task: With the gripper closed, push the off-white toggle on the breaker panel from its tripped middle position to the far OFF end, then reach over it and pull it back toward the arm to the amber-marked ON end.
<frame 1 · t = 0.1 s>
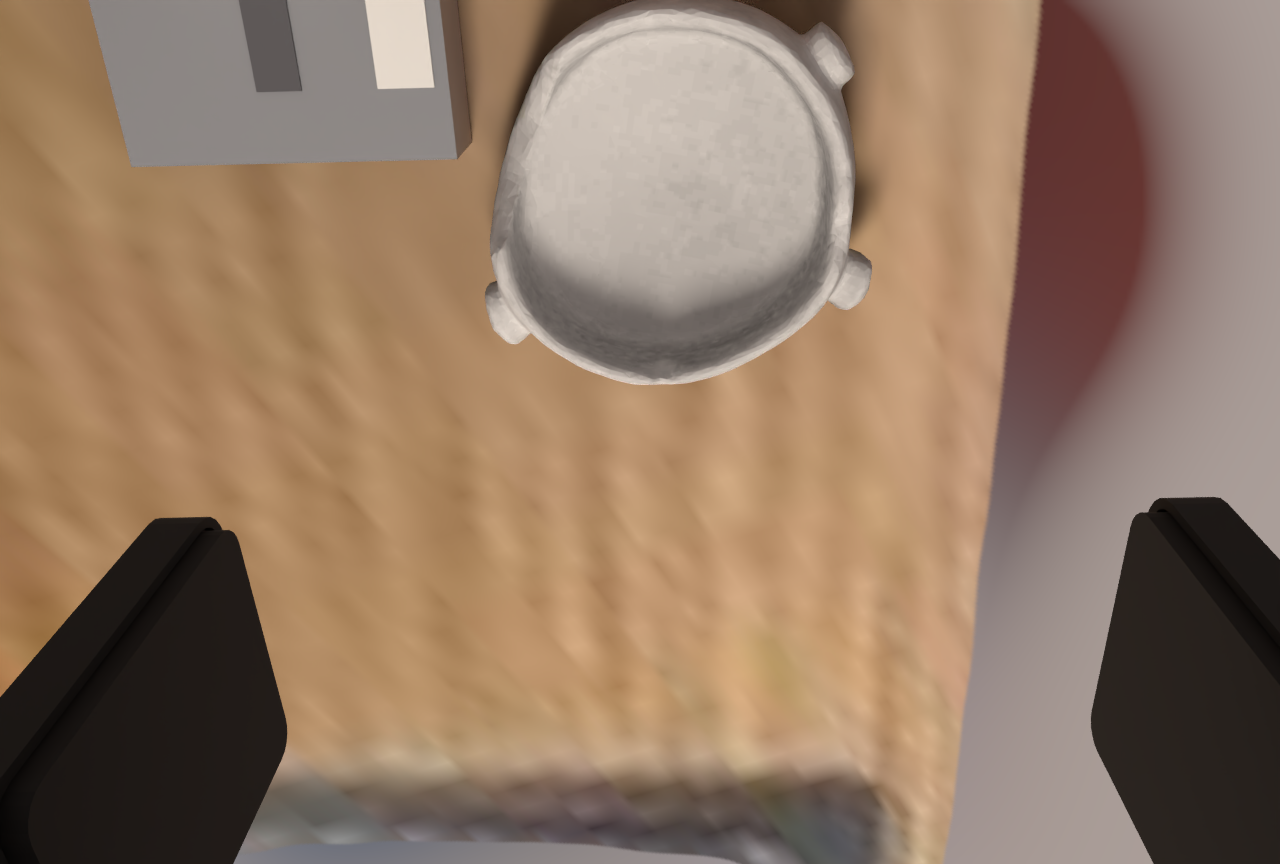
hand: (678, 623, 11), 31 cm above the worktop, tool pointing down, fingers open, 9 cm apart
dish: (680, 179, 40), on the worktop
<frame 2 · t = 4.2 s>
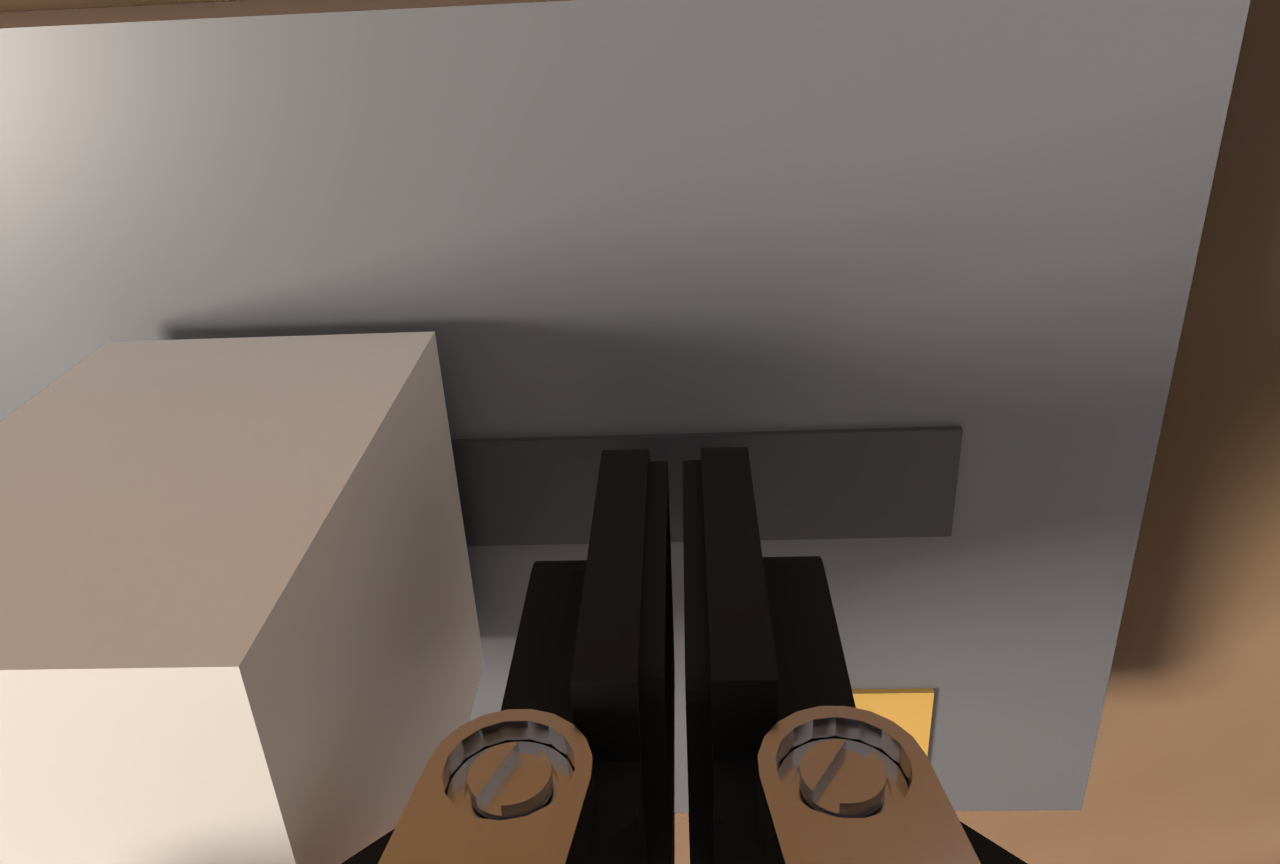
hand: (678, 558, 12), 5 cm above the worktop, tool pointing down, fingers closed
breaker panel: (437, 398, 16), on the worktop
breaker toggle: (217, 666, 11), point 7 cm above the worktop, slide at 6.9 cm, touching gripper
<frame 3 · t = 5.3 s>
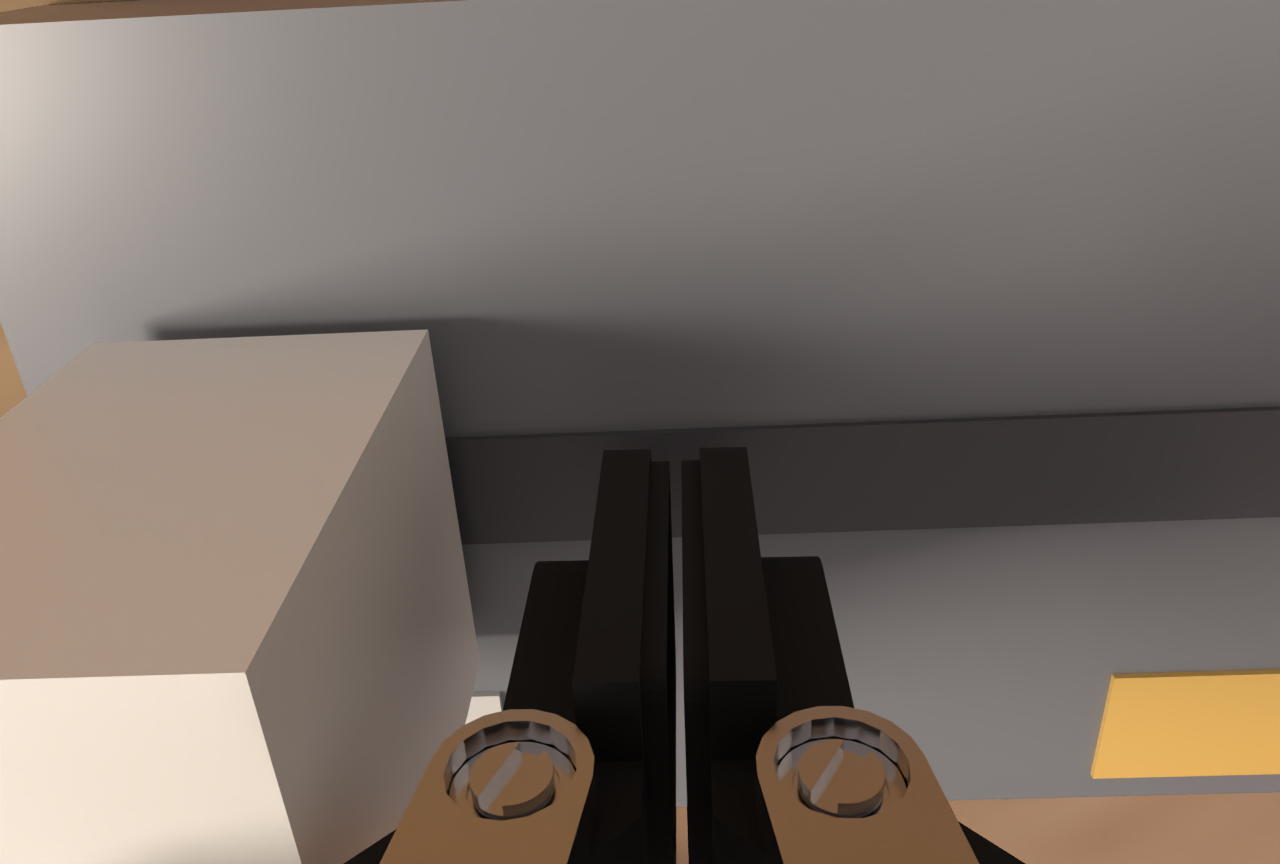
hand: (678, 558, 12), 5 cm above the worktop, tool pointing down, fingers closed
breaker panel: (783, 382, 16), on the worktop
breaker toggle: (214, 670, 11), point 7 cm above the worktop, slide at 12.6 cm, touching gripper
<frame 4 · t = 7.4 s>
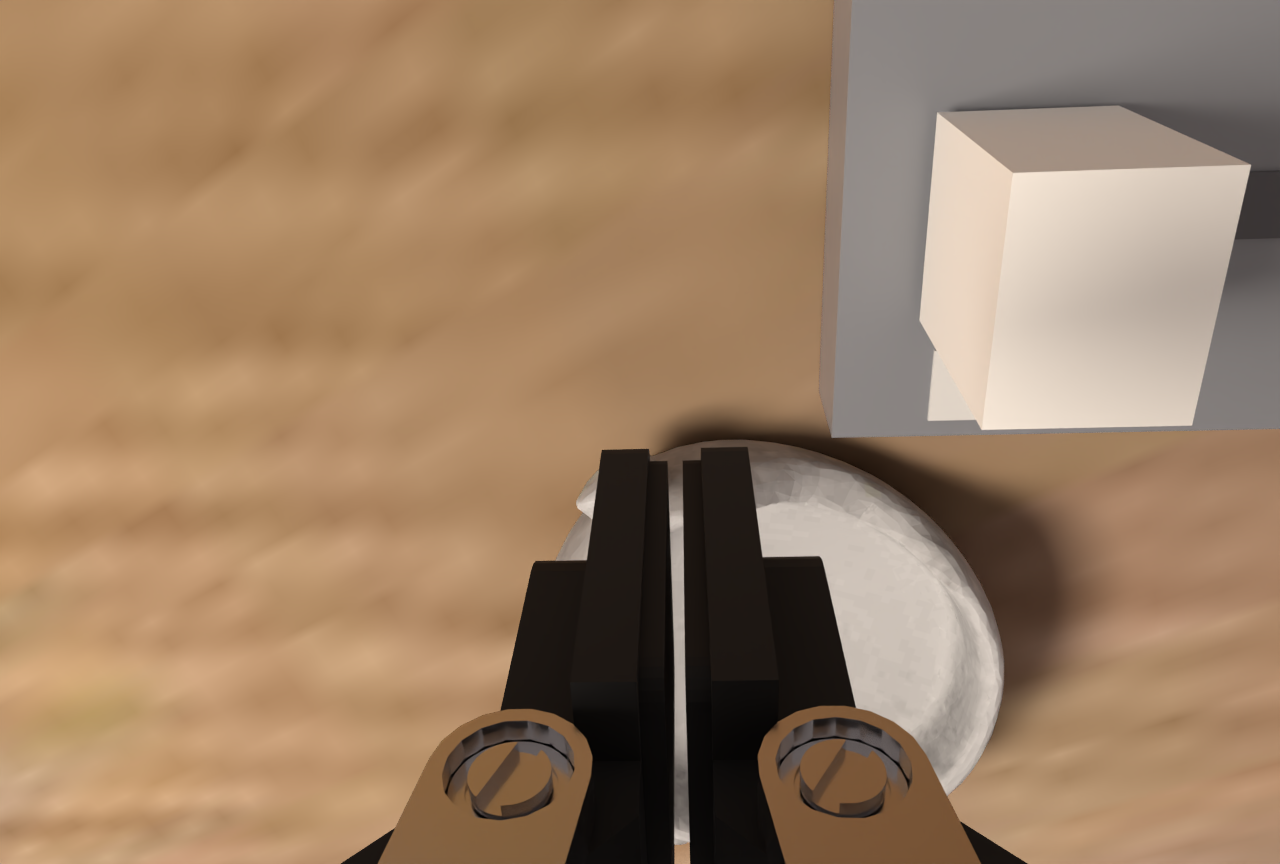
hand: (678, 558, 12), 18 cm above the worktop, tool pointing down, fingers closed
breaker panel: (1209, 175, 27), on the worktop
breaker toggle: (1054, 256, 21), point 6 cm above the worktop, slide at 12.0 cm
dish: (756, 603, 34), on the worktop
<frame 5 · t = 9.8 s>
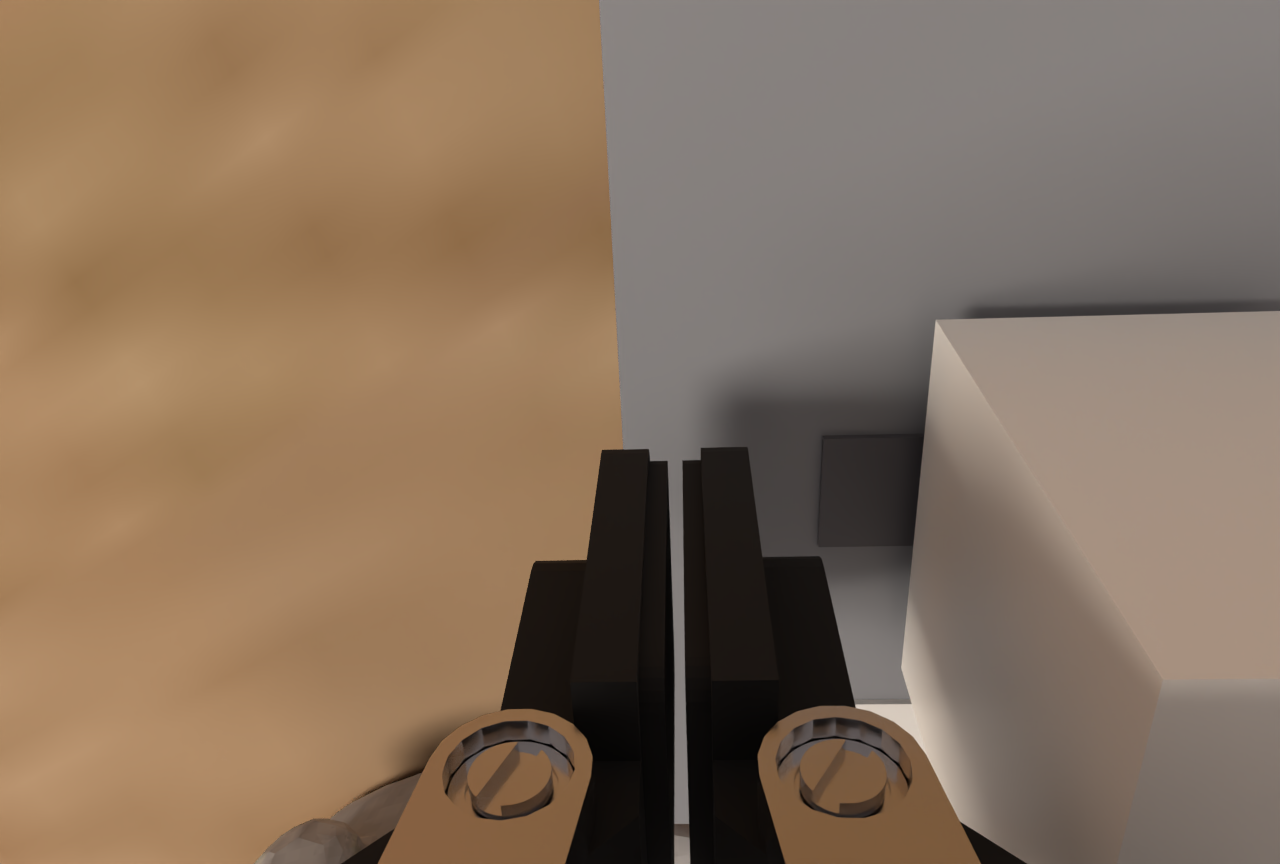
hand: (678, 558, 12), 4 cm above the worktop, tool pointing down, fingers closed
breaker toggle: (1192, 669, 10), point 7 cm above the worktop, slide at 10.4 cm, touching gripper
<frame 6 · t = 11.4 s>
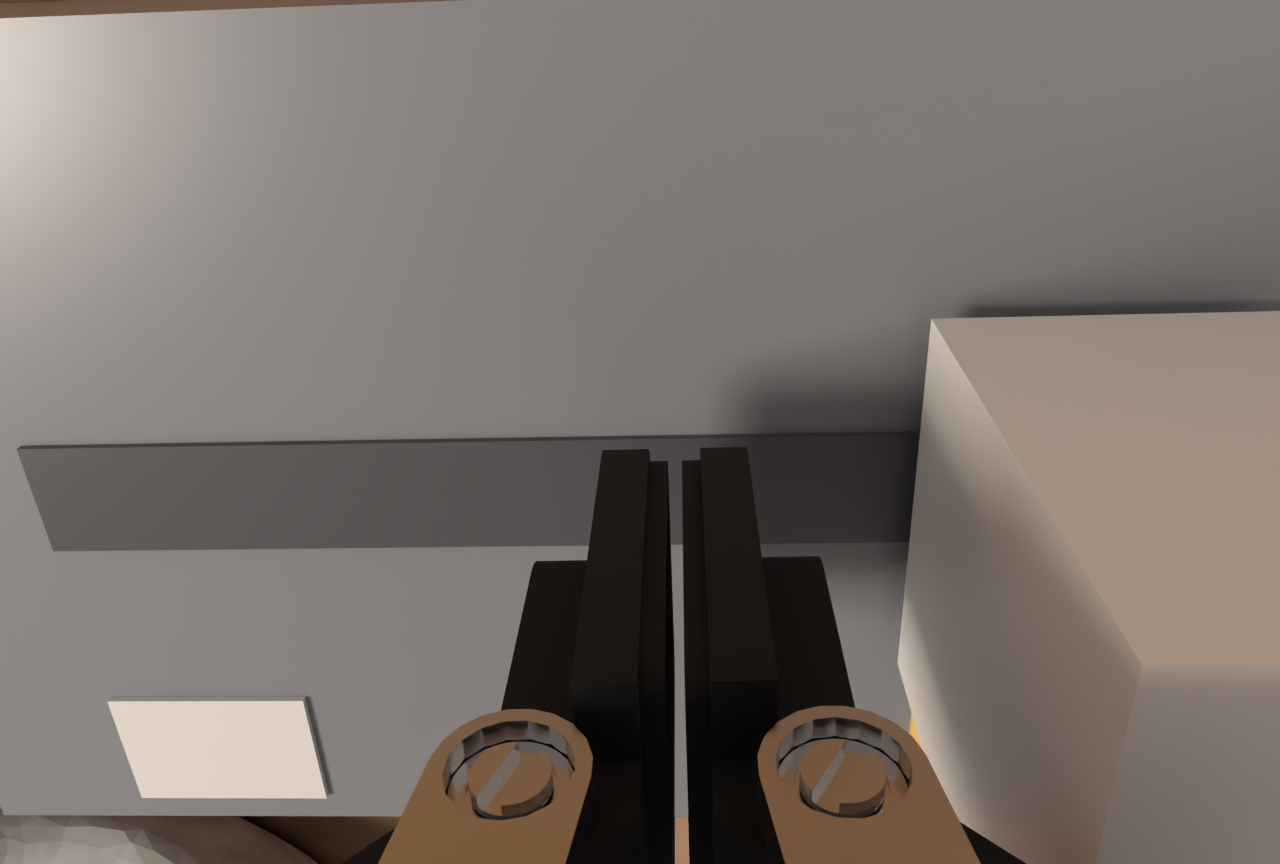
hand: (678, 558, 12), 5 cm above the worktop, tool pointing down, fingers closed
breaker panel: (605, 394, 16), on the worktop
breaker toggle: (1180, 662, 10), point 6 cm above the worktop, slide at -0.1 cm, touching gripper
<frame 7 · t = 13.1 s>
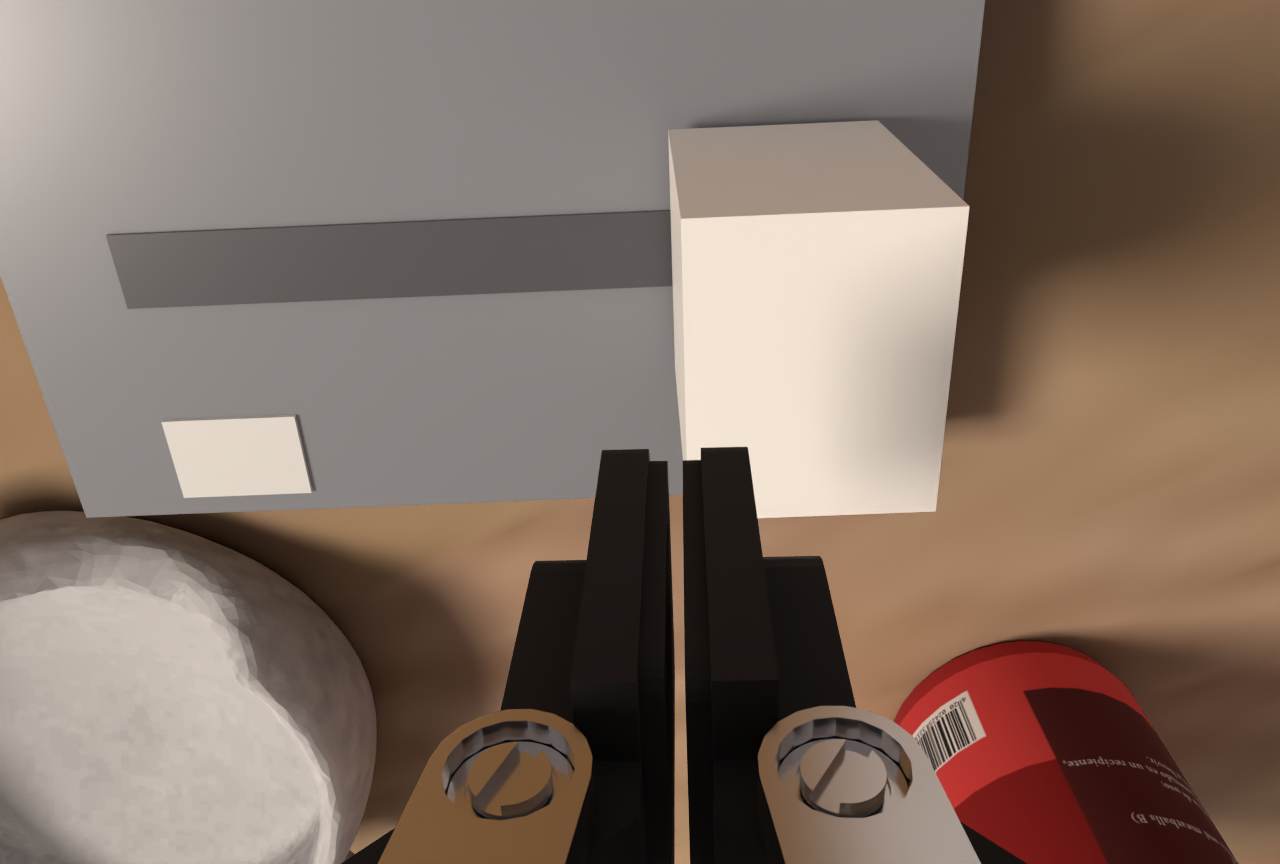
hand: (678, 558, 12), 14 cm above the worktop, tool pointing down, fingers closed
breaker panel: (494, 215, 24), on the worktop
canned food: (1001, 728, 32), on the worktop
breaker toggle: (790, 304, 18), point 7 cm above the worktop, slide at 0.0 cm
dish: (162, 680, 31), on the worktop
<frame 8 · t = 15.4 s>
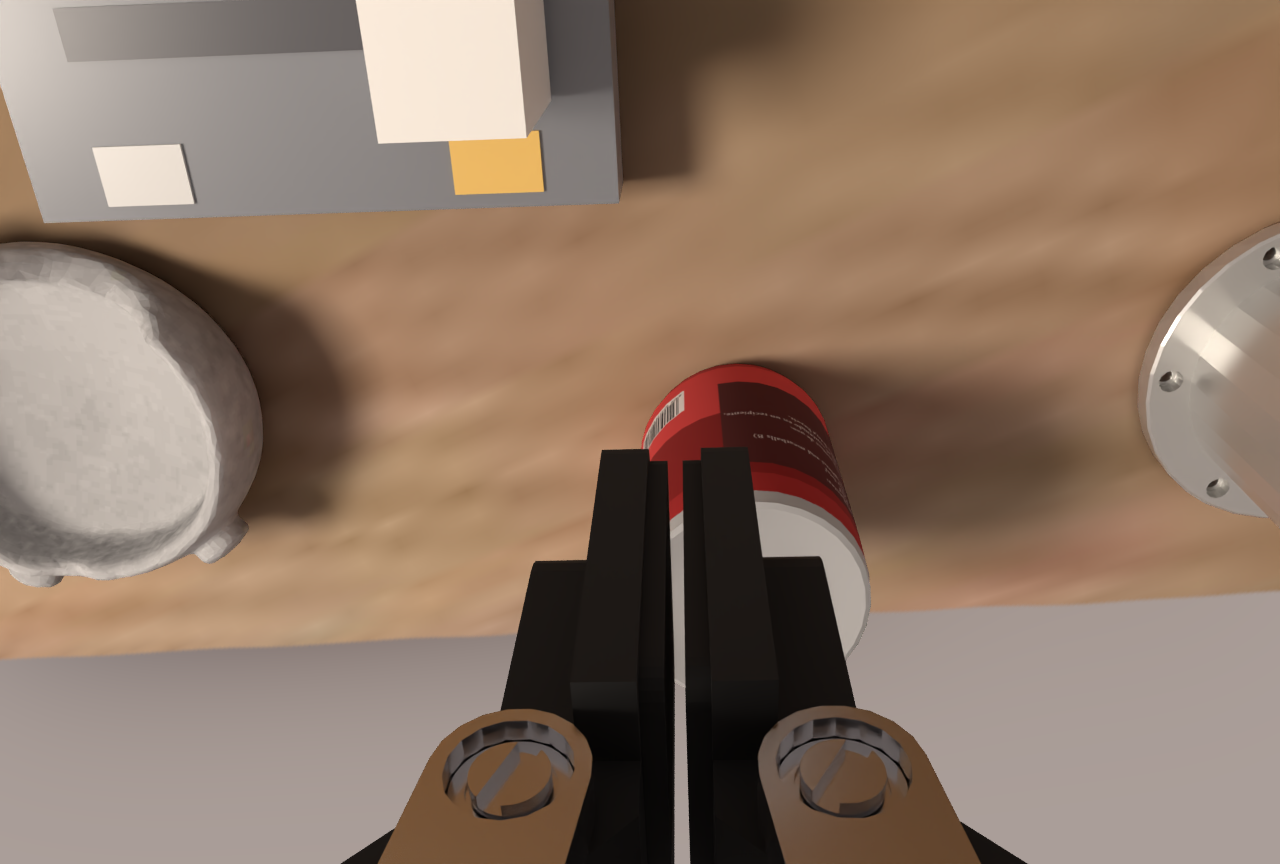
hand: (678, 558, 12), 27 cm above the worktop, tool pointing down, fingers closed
breaker panel: (322, 16, 35), on the worktop
canned food: (733, 443, 42), on the worktop
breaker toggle: (461, 28, 29), point 7 cm above the worktop, slide at 0.0 cm
dish: (109, 392, 42), on the worktop
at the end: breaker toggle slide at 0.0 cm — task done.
